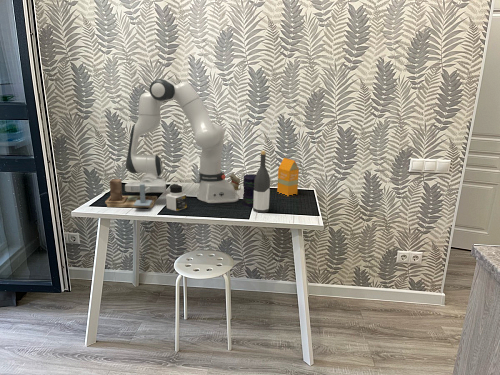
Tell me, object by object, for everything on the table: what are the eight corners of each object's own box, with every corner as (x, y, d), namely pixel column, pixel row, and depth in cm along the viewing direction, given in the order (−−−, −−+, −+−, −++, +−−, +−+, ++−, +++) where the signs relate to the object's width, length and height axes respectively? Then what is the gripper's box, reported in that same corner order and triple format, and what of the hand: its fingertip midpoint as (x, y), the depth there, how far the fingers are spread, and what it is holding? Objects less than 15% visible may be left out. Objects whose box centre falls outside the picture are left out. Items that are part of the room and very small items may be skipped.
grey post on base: (152, 201, 204) (151, 182, 201) (149, 206, 196) (148, 187, 194) (136, 200, 203) (136, 182, 200) (133, 205, 196) (132, 186, 193)
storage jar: (262, 207, 207) (263, 179, 203) (242, 207, 207) (243, 178, 203) (261, 201, 217) (262, 174, 213) (242, 201, 217) (243, 173, 212)
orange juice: (287, 196, 227) (289, 161, 221) (276, 192, 233) (278, 158, 227) (297, 194, 231) (299, 159, 226) (286, 190, 238) (288, 156, 232)
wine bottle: (257, 206, 209) (260, 148, 200) (271, 209, 205) (274, 150, 196) (249, 211, 202) (251, 151, 194) (264, 214, 198) (266, 153, 190)
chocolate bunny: (238, 191, 233) (238, 174, 230) (224, 190, 235) (224, 173, 232) (240, 188, 238) (240, 172, 235) (227, 187, 240) (227, 171, 237)
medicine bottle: (176, 211, 198) (175, 187, 195) (166, 208, 203) (165, 185, 199) (186, 207, 204) (186, 184, 201) (176, 204, 208) (176, 182, 205)
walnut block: (122, 199, 208) (121, 179, 205) (120, 202, 204) (118, 181, 201) (113, 199, 208) (112, 178, 205) (111, 202, 204) (109, 181, 201)
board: (158, 198, 216) (157, 194, 215) (153, 207, 203) (152, 202, 202) (113, 198, 215) (112, 193, 214) (105, 207, 201) (104, 201, 201)
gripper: (127, 177, 211) (120, 185, 198) (167, 178, 212) (163, 185, 199) (128, 189, 213) (121, 197, 200) (168, 189, 214) (164, 198, 201)
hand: (142, 191), depth 199 cm, fingers closed, pressing on grey post on base
